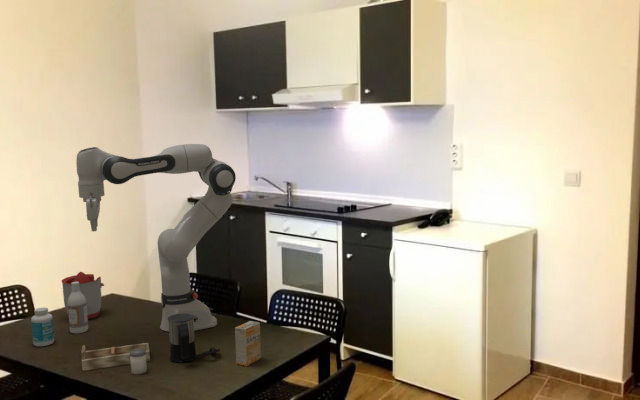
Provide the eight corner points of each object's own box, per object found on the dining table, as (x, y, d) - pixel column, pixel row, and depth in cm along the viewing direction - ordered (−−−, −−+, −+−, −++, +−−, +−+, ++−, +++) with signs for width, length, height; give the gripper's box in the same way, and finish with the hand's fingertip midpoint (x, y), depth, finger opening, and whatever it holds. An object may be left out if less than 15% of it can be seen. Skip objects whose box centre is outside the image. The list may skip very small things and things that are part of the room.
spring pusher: (114, 354, 218) (114, 346, 218) (115, 361, 212) (114, 352, 212) (111, 355, 218) (111, 347, 218) (112, 361, 212) (111, 353, 212)
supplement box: (247, 367, 207) (245, 329, 206) (235, 364, 210) (234, 327, 208) (262, 358, 214) (260, 322, 213) (251, 356, 217) (249, 320, 215)
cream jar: (146, 367, 210) (145, 347, 209) (147, 372, 205) (146, 352, 204) (130, 369, 208) (129, 349, 207) (131, 375, 203) (129, 354, 202)
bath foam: (66, 333, 246) (61, 284, 243) (77, 327, 252) (73, 279, 250) (80, 334, 244) (76, 285, 241) (92, 328, 250) (88, 280, 248)
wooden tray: (148, 352, 223) (147, 336, 222) (150, 361, 215) (149, 344, 214) (83, 361, 216) (82, 344, 216) (82, 370, 208) (81, 353, 207)
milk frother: (165, 357, 218) (162, 316, 216) (205, 346, 228) (203, 307, 226) (182, 369, 207) (180, 326, 205) (224, 357, 216) (222, 316, 214)
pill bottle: (46, 347, 230) (43, 312, 229) (29, 346, 232) (25, 311, 230) (58, 340, 238) (55, 306, 236) (41, 339, 239) (38, 305, 237)
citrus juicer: (114, 314, 268) (110, 269, 265) (76, 325, 255) (72, 278, 252) (95, 308, 278) (92, 264, 275) (58, 318, 265) (54, 272, 263)
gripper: (99, 194, 219) (103, 232, 221) (101, 188, 238) (104, 224, 240) (80, 195, 217) (84, 234, 219) (83, 189, 236) (87, 225, 238)
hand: (94, 228), depth 230 cm, fingers open, 8 cm apart
